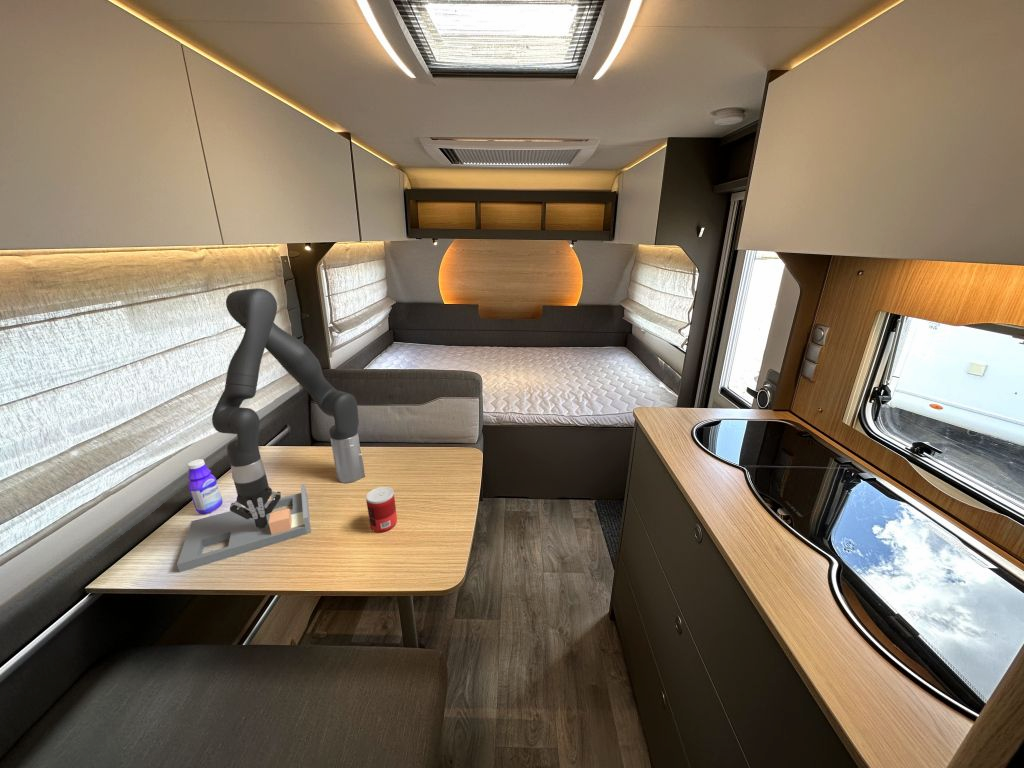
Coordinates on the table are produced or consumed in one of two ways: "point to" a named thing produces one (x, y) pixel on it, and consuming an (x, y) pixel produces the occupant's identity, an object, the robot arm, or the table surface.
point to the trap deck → (240, 533)
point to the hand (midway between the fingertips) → (262, 526)
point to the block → (280, 521)
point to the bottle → (203, 487)
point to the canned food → (381, 509)
